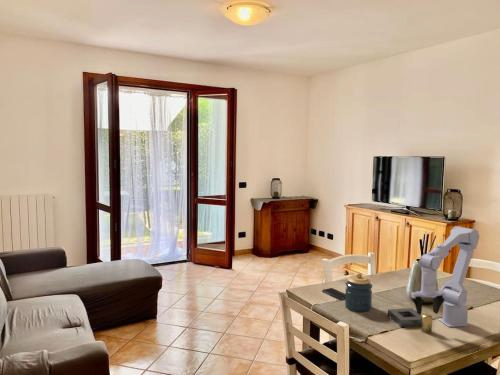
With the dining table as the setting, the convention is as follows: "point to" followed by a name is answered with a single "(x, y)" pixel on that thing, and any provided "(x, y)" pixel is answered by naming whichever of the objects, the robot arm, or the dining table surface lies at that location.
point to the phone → (334, 293)
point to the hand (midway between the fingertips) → (427, 313)
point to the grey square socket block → (405, 317)
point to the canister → (358, 293)
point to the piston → (426, 323)
